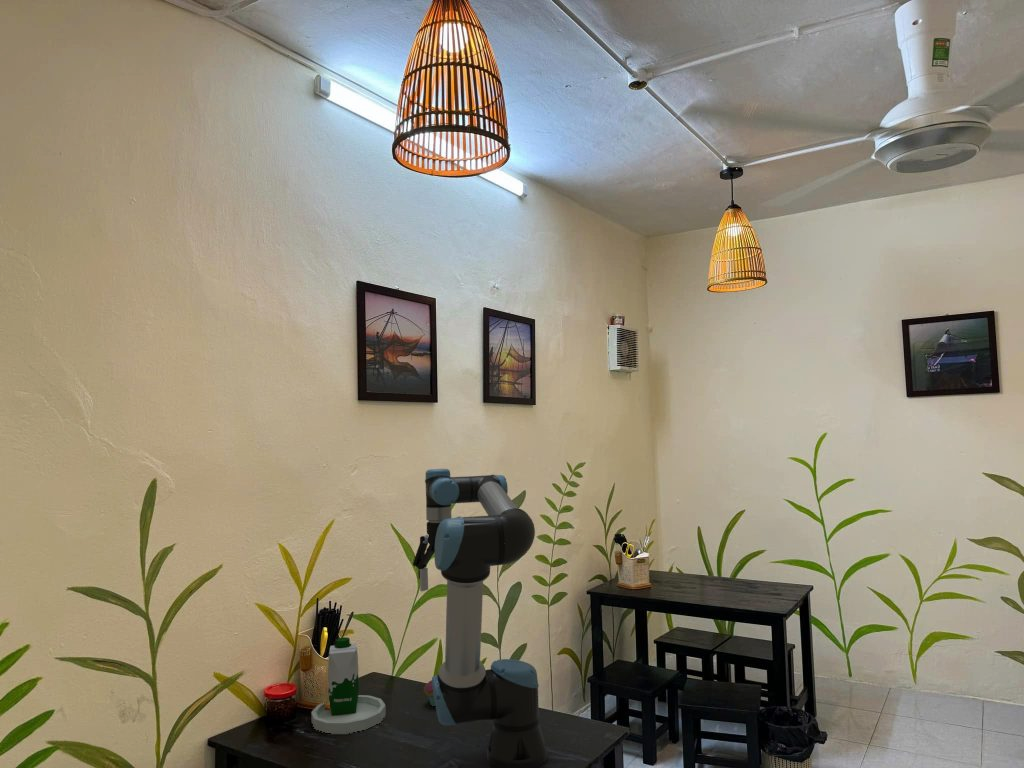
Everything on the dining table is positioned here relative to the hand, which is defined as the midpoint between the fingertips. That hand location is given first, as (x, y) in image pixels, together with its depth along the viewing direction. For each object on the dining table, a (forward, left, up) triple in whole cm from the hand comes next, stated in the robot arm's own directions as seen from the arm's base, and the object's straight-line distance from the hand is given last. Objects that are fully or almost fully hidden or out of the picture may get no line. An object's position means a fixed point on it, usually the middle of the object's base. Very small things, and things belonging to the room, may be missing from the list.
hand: (441, 593), depth 211 cm
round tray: (+21, +18, -35) cm, 44 cm away
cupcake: (+6, -4, -35) cm, 36 cm away
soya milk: (+25, +16, -34) cm, 45 cm away
